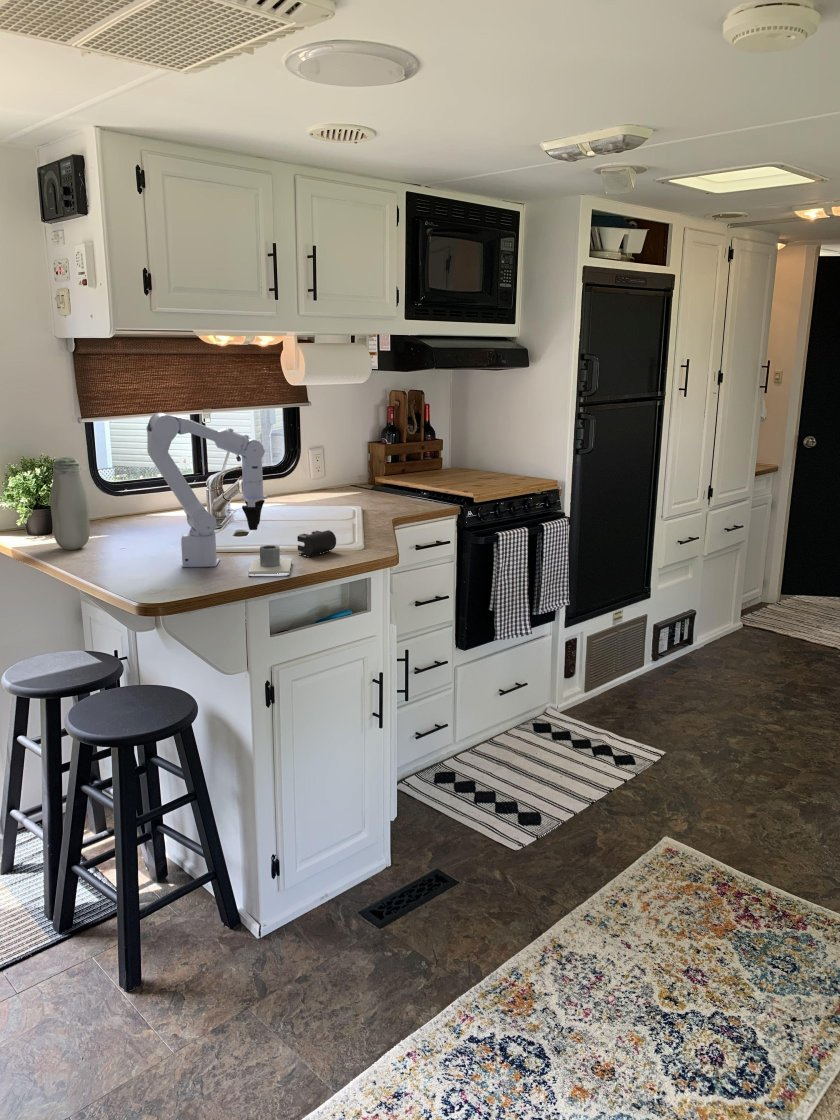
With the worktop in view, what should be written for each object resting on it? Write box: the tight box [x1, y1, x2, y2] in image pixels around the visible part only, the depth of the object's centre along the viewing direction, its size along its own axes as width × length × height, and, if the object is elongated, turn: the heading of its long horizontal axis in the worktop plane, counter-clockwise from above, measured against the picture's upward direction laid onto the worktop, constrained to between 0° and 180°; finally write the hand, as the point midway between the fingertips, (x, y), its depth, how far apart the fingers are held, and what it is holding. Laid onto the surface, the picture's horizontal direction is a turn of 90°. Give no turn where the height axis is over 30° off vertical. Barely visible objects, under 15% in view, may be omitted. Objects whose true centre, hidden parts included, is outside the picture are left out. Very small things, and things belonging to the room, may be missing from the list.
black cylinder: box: [297, 529, 337, 557], centre depth 255 cm, size 10×7×7 cm
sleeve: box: [259, 544, 281, 567], centre depth 236 cm, size 5×5×5 cm
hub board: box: [247, 557, 293, 575], centre depth 237 cm, size 11×14×6 cm
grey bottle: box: [49, 456, 91, 551], centre depth 256 cm, size 10×10×28 cm
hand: (254, 527), depth 248 cm, fingers open, 7 cm apart
